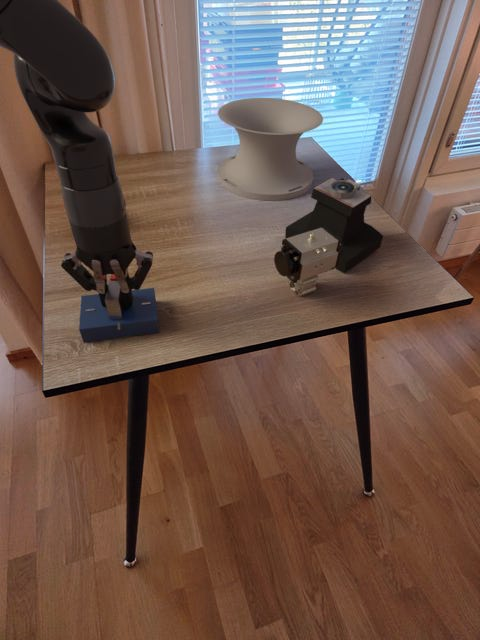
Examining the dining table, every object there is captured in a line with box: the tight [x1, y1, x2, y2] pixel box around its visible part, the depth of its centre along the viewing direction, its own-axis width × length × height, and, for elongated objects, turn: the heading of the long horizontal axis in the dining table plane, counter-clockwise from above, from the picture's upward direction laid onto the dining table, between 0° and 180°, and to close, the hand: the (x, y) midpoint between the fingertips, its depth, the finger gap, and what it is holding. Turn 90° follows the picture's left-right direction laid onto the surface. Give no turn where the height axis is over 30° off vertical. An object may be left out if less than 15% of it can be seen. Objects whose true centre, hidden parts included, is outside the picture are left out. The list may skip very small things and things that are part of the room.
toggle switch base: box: [78, 287, 161, 343], centre depth 69 cm, size 12×10×3 cm
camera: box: [284, 177, 384, 274], centre depth 84 cm, size 16×14×15 cm
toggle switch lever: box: [105, 274, 124, 320], centre depth 66 cm, size 6×2×4 cm, turn 5°
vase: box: [217, 97, 324, 202], centre depth 104 cm, size 25×25×16 cm
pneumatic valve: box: [273, 227, 343, 297], centre depth 73 cm, size 6×12×12 cm, turn 120°
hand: (118, 306), depth 68 cm, fingers closed on toggle switch lever, 2 cm apart
